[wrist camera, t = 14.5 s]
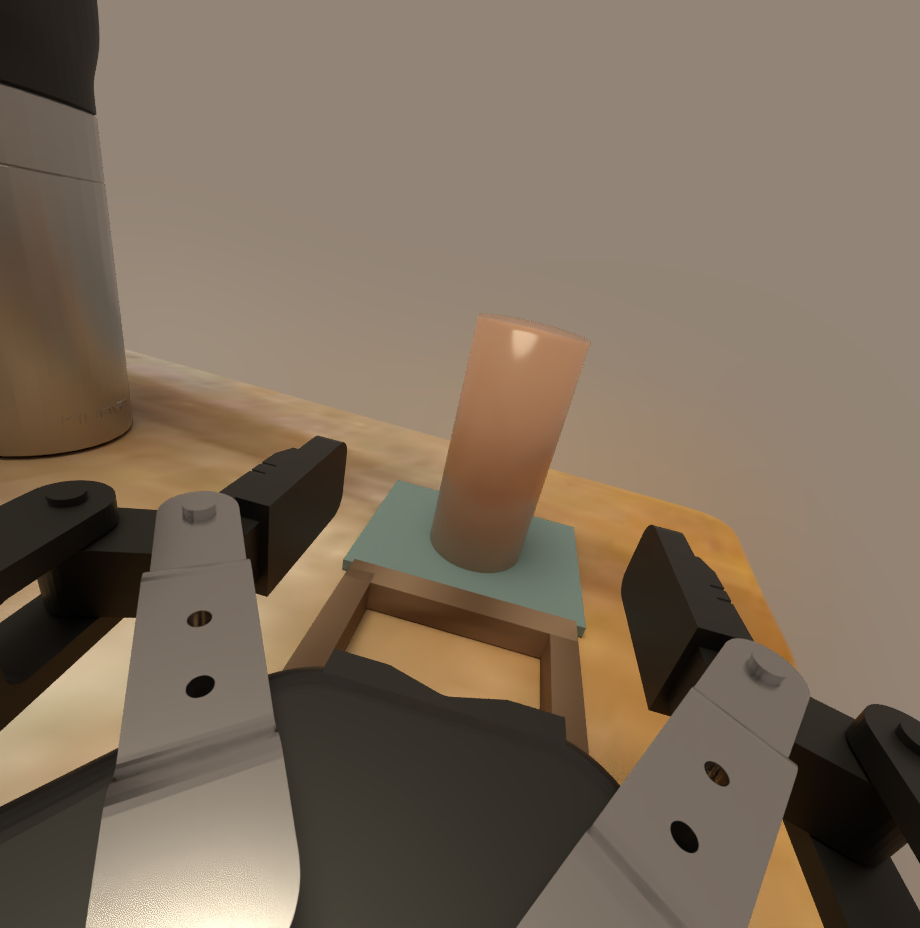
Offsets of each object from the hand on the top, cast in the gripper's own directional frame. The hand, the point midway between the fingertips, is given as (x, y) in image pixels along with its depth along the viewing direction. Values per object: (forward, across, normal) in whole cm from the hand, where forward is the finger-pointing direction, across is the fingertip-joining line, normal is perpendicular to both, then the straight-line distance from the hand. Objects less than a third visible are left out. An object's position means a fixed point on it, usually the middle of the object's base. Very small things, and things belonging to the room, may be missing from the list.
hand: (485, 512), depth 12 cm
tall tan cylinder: (+11, 0, +8) cm, 14 cm away
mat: (+11, 0, +9) cm, 14 cm away
